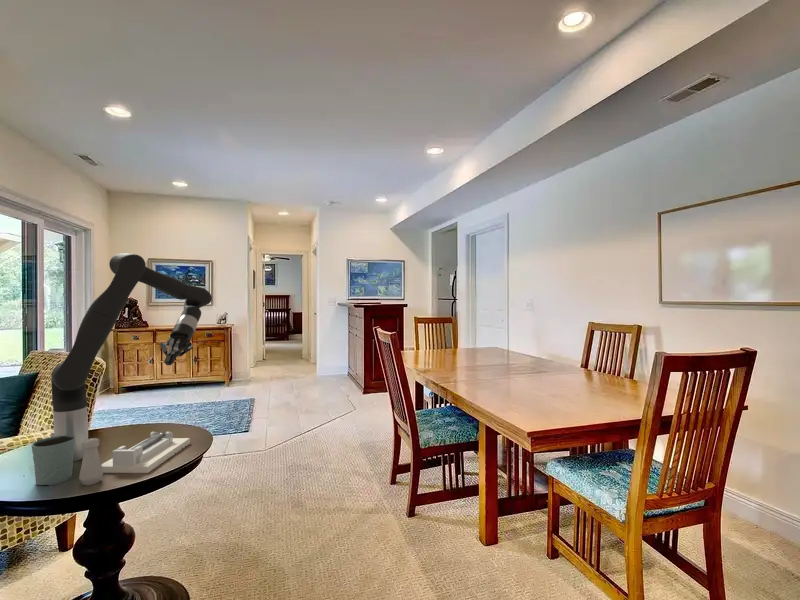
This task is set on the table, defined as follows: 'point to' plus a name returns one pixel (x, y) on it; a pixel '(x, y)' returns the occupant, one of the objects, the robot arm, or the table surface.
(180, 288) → the robot arm
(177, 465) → the table surface
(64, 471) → the pale green planter pot
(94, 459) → the salt shaker
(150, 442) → the bar
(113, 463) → the stand
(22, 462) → the table surface
